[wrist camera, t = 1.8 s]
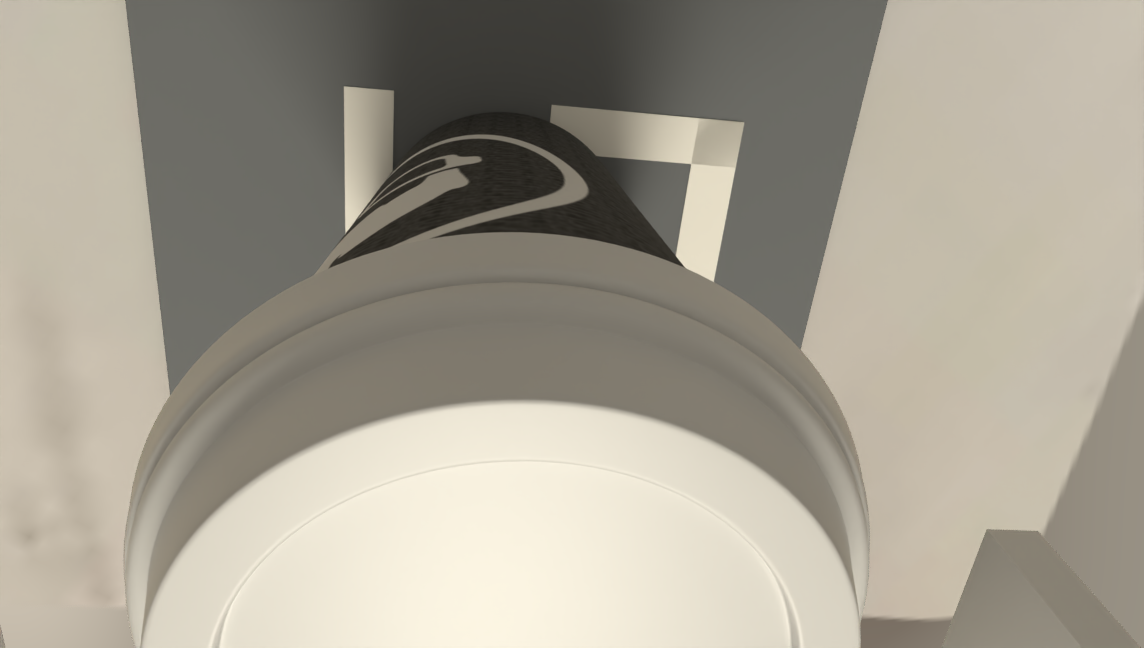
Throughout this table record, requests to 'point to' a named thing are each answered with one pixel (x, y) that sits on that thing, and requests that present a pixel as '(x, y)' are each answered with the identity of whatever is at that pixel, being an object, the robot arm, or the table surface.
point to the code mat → (482, 85)
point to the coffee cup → (499, 438)
